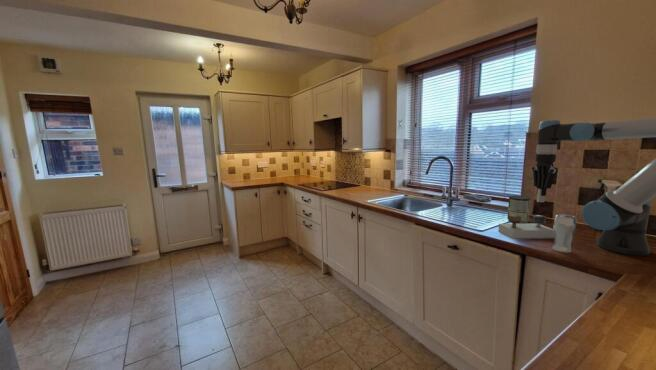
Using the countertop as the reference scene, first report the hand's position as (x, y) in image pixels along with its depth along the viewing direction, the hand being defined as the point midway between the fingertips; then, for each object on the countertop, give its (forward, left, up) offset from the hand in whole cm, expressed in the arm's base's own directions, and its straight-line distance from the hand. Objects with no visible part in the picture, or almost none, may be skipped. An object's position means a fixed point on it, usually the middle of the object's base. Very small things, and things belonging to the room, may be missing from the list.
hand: (540, 201), depth 130 cm
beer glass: (-20, +5, -17) cm, 27 cm away
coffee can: (+25, -7, -17) cm, 31 cm away
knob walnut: (0, +12, -13) cm, 18 cm away
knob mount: (0, +6, -17) cm, 18 cm away
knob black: (0, 0, -13) cm, 13 cm away
